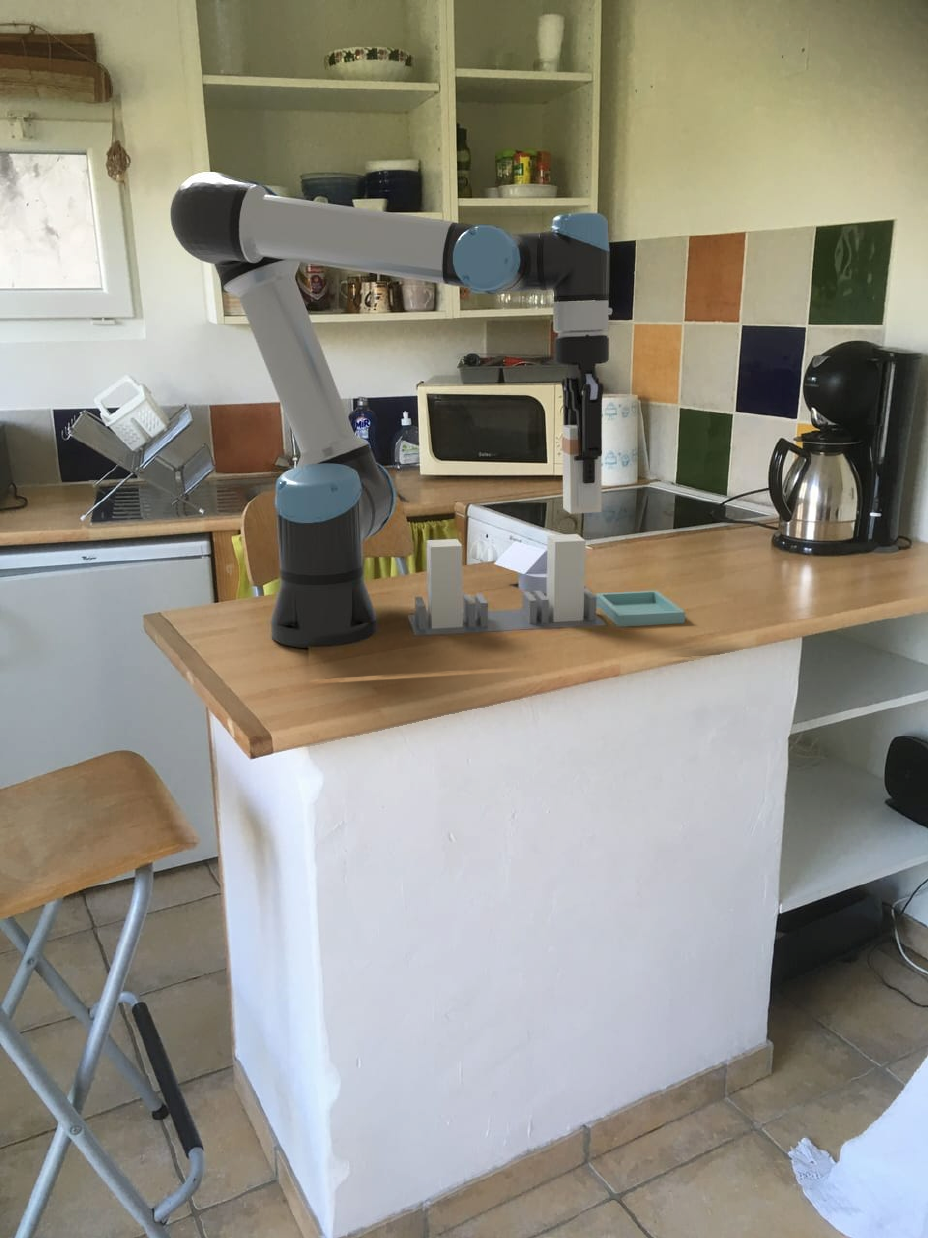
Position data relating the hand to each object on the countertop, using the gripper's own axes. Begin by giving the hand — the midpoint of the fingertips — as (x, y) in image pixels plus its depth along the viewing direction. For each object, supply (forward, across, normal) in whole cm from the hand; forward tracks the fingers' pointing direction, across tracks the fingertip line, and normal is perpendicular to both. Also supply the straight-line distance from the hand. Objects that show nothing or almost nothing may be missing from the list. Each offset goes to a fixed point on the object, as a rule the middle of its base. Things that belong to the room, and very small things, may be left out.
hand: (582, 502), depth 146 cm
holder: (+17, 0, +12) cm, 21 cm away
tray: (+18, +1, -9) cm, 20 cm away
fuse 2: (+17, +1, +3) cm, 17 cm away
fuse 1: (+17, 0, +21) cm, 26 cm away
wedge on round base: (+18, +20, +2) cm, 27 cm away
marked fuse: (+1, 0, 0) cm, 1 cm away
